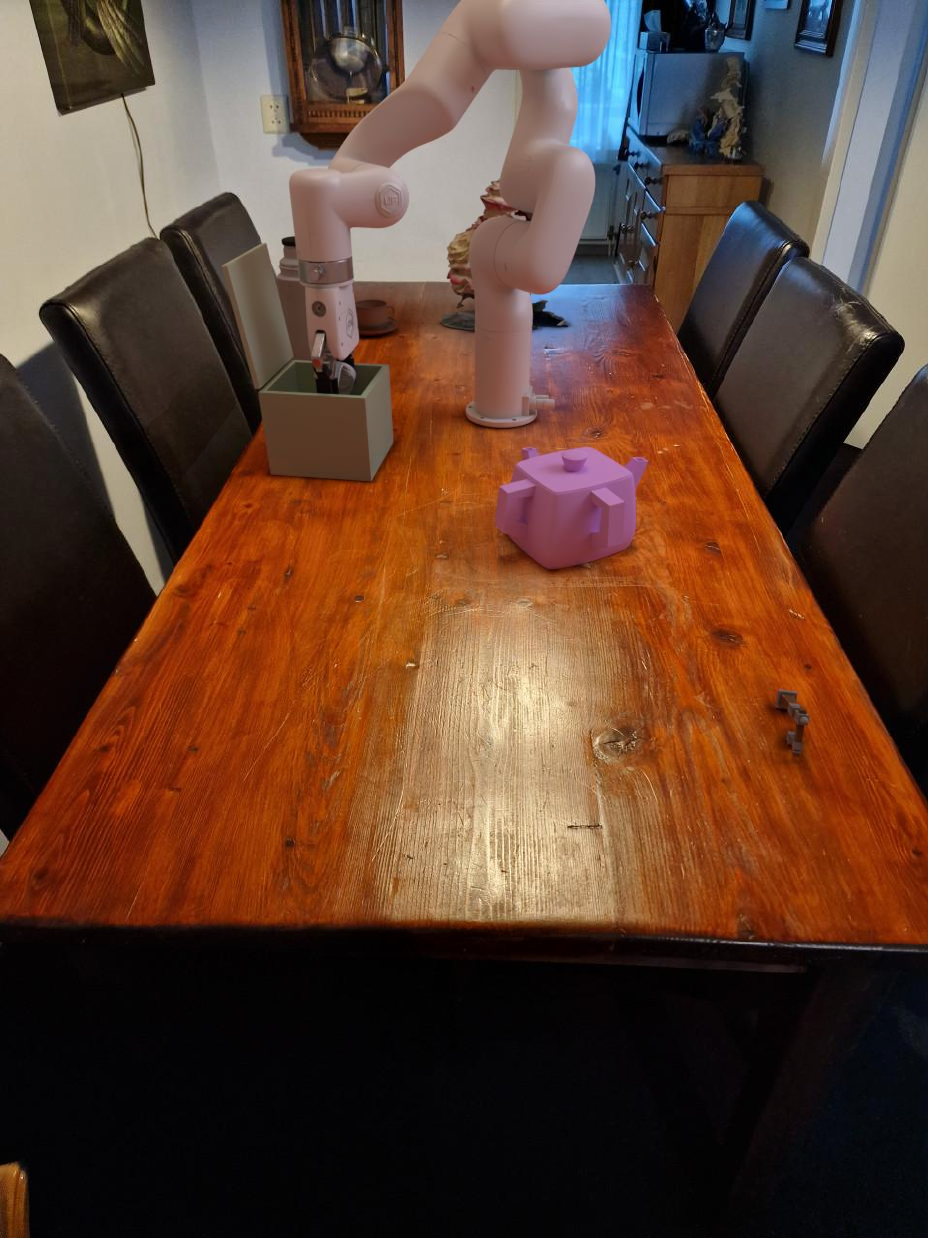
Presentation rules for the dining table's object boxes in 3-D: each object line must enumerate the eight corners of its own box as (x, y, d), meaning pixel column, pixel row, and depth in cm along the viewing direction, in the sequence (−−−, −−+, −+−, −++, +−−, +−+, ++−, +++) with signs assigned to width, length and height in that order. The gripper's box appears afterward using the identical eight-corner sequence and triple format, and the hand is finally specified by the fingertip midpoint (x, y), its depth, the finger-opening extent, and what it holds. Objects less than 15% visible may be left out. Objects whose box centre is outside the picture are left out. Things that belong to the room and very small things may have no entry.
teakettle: (489, 562, 103) (491, 473, 96) (520, 503, 116) (523, 420, 109) (624, 583, 99) (636, 491, 92) (640, 519, 112) (652, 434, 105)
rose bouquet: (492, 300, 207) (494, 166, 190) (579, 324, 190) (590, 178, 173) (414, 319, 193) (409, 177, 176) (501, 347, 176) (505, 191, 158)
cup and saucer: (369, 321, 192) (368, 294, 189) (409, 329, 187) (408, 301, 183) (334, 333, 184) (332, 305, 181) (374, 342, 179) (373, 313, 175)
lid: (266, 242, 119) (261, 243, 119) (227, 265, 107) (221, 265, 107) (293, 356, 128) (288, 356, 129) (260, 388, 116) (254, 389, 117)
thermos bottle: (343, 398, 151) (328, 233, 135) (329, 414, 144) (311, 243, 128) (302, 395, 152) (283, 231, 136) (286, 411, 146) (264, 241, 129)
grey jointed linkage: (787, 759, 73) (795, 711, 73) (771, 731, 81) (778, 687, 80) (809, 762, 73) (817, 714, 72) (790, 733, 81) (797, 689, 80)
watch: (363, 424, 130) (357, 355, 123) (354, 444, 123) (348, 372, 117) (328, 423, 130) (321, 354, 124) (318, 444, 124) (309, 372, 117)
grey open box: (393, 442, 134) (389, 364, 127) (371, 481, 122) (365, 397, 115) (301, 436, 136) (291, 359, 129) (270, 474, 124) (257, 392, 117)
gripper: (334, 287, 105) (346, 416, 115) (368, 258, 119) (375, 376, 130) (278, 285, 106) (295, 413, 116) (318, 256, 120) (330, 373, 130)
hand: (337, 393), depth 123 cm, fingers closed on watch, 8 cm apart
